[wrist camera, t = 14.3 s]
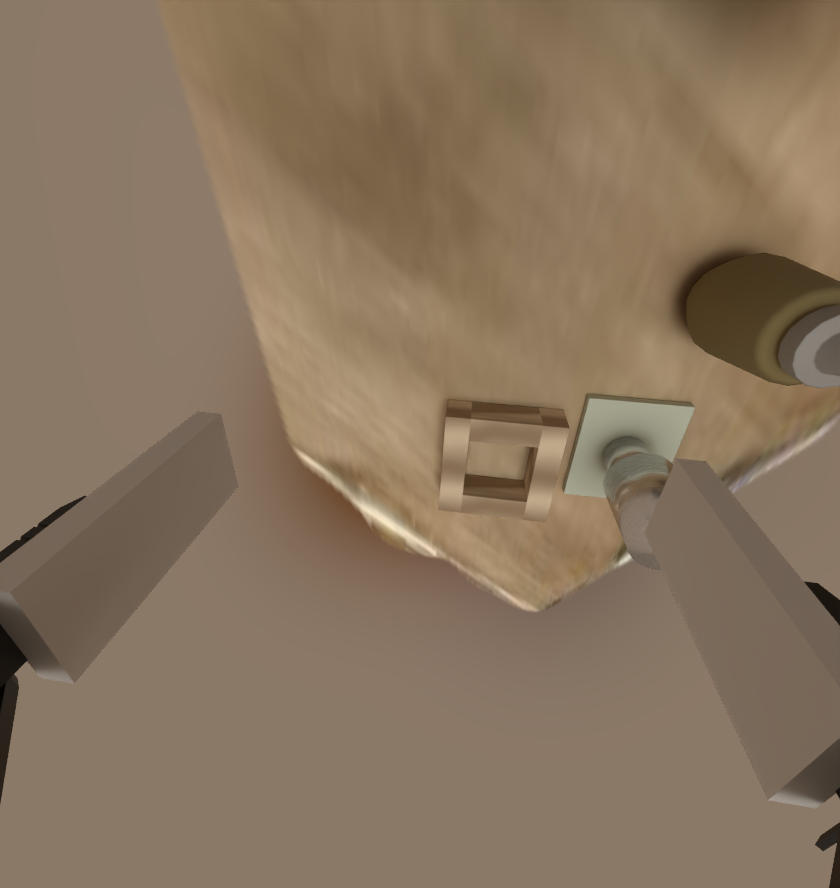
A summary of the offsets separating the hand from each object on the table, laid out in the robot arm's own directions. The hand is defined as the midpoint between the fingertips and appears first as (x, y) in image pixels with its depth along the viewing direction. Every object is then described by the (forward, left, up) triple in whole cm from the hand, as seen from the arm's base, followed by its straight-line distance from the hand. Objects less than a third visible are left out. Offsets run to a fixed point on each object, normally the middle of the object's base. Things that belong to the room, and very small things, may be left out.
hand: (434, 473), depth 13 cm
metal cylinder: (+16, +18, -30) cm, 38 cm away
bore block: (+18, +5, -31) cm, 36 cm away
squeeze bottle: (0, +22, -31) cm, 38 cm away
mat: (+16, +18, -31) cm, 39 cm away
